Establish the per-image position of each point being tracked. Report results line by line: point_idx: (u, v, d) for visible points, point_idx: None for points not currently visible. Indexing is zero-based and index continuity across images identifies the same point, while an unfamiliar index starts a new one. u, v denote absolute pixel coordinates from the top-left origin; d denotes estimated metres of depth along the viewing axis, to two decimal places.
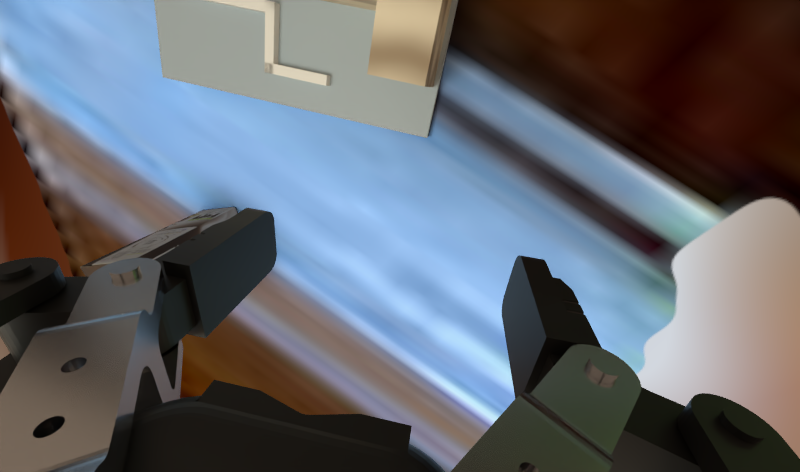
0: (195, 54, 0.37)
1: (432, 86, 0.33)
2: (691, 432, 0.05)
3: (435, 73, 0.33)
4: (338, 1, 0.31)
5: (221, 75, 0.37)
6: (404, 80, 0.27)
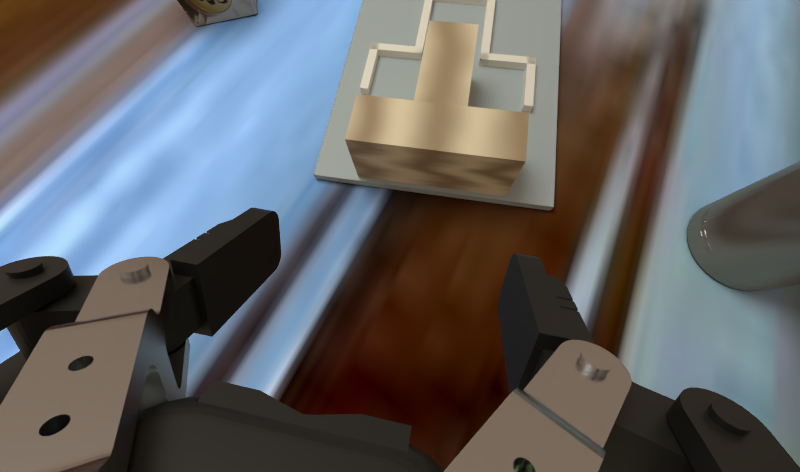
0: None
1: (357, 173, 0.36)
2: (680, 426, 0.05)
3: (368, 175, 0.36)
4: None
5: (370, 14, 0.44)
6: (350, 123, 0.30)
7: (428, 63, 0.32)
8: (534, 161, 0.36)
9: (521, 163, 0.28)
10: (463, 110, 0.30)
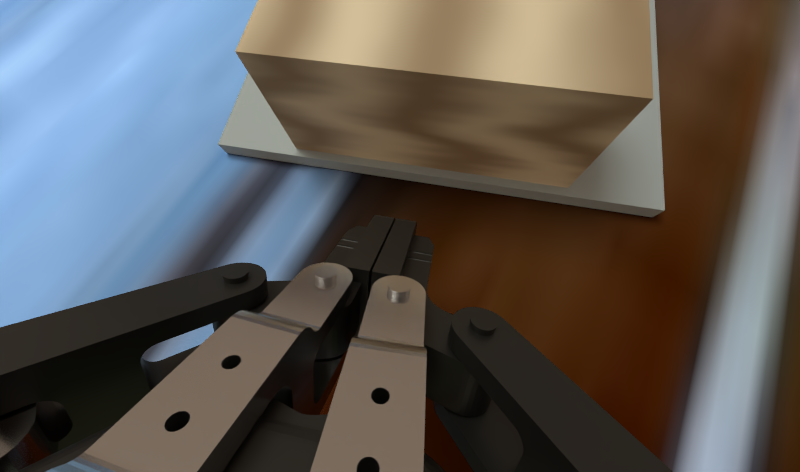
0: None
1: (292, 141, 0.19)
2: (458, 348, 0.06)
3: (312, 145, 0.19)
4: None
5: None
6: (252, 19, 0.14)
7: None
8: None
9: (638, 105, 0.12)
10: None
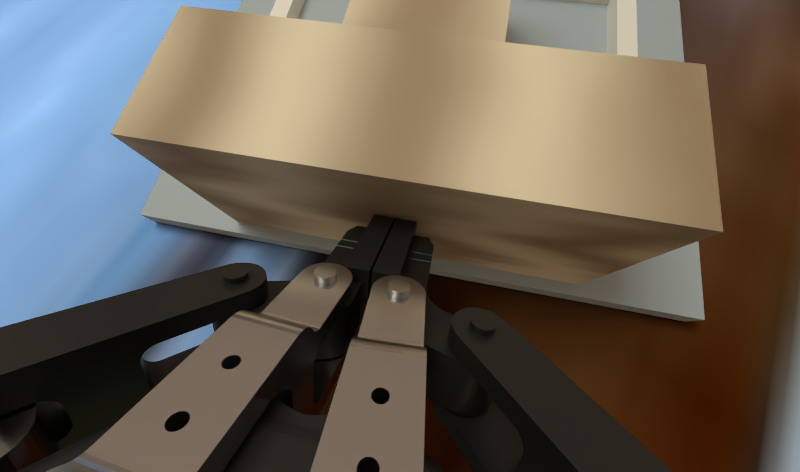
0: None
1: (230, 216, 0.15)
2: (458, 348, 0.06)
3: (256, 222, 0.15)
4: None
5: None
6: (141, 84, 0.10)
7: None
8: None
9: (697, 235, 0.08)
10: (490, 53, 0.10)
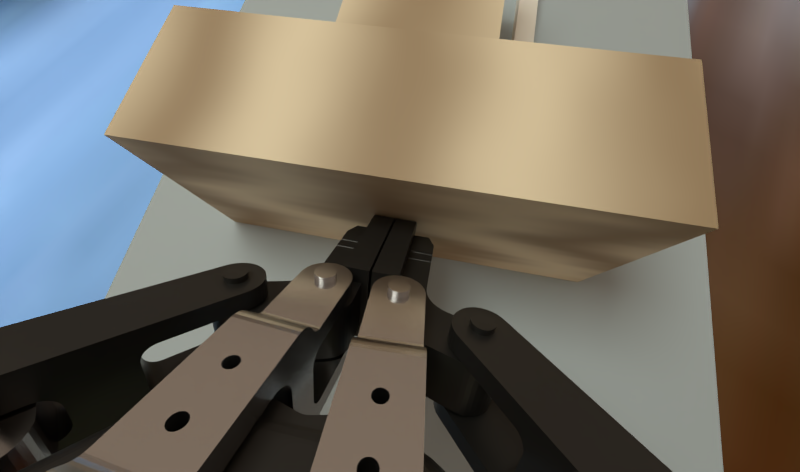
0: None
1: (228, 216, 0.15)
2: (458, 348, 0.06)
3: (253, 221, 0.15)
4: None
5: None
6: (135, 85, 0.10)
7: None
8: (656, 376, 0.13)
9: (693, 232, 0.08)
10: (484, 50, 0.10)
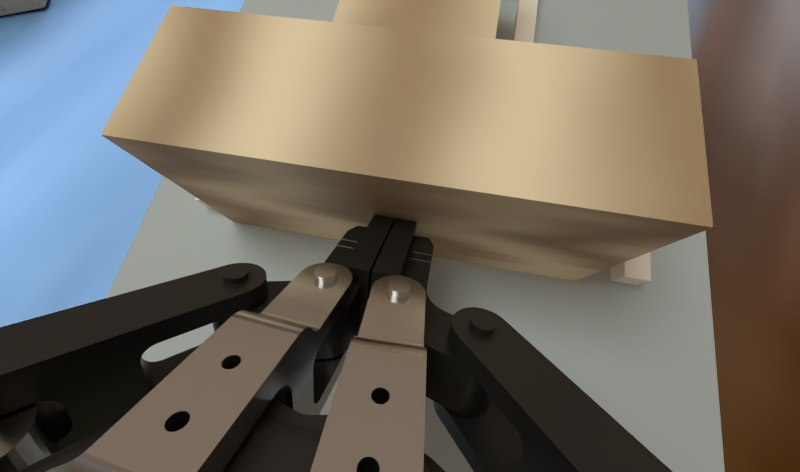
0: None
1: (226, 216, 0.15)
2: (458, 348, 0.06)
3: (251, 221, 0.15)
4: None
5: (264, 13, 0.20)
6: (132, 85, 0.10)
7: None
8: (659, 459, 0.12)
9: (688, 231, 0.08)
10: (480, 50, 0.10)
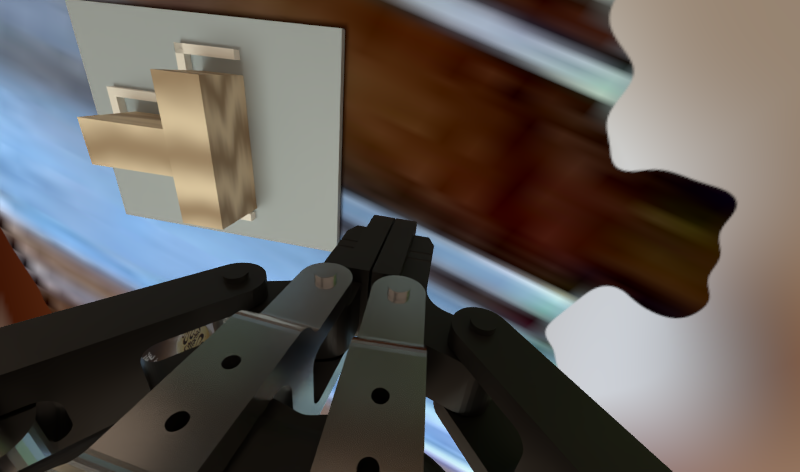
0: (149, 198, 0.46)
1: (253, 209, 0.43)
2: (458, 348, 0.06)
3: (253, 201, 0.43)
4: None
5: (171, 212, 0.46)
6: (208, 226, 0.38)
7: (135, 164, 0.36)
8: (294, 48, 0.35)
9: (201, 77, 0.31)
10: (168, 133, 0.34)
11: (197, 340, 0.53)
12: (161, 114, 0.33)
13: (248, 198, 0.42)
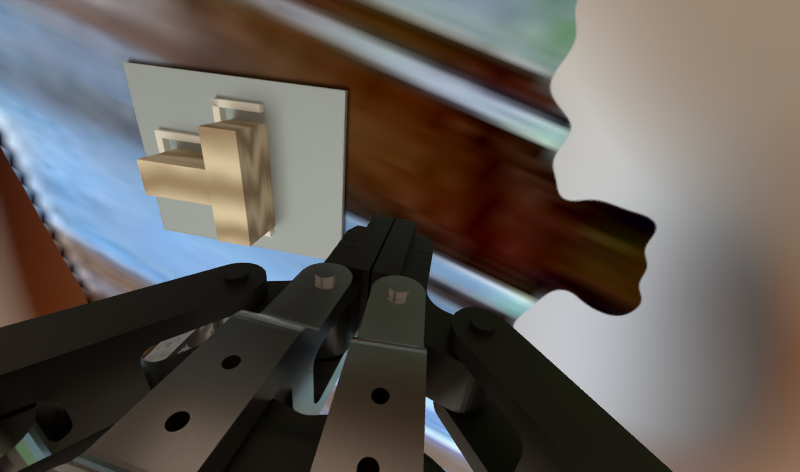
0: (184, 217, 0.55)
1: (272, 227, 0.53)
2: (458, 348, 0.06)
3: (272, 220, 0.52)
4: None
5: (203, 228, 0.56)
6: (238, 243, 0.47)
7: (181, 195, 0.45)
8: (307, 104, 0.44)
9: (237, 132, 0.40)
10: (209, 173, 0.43)
11: None
12: (204, 158, 0.42)
13: (268, 219, 0.51)
